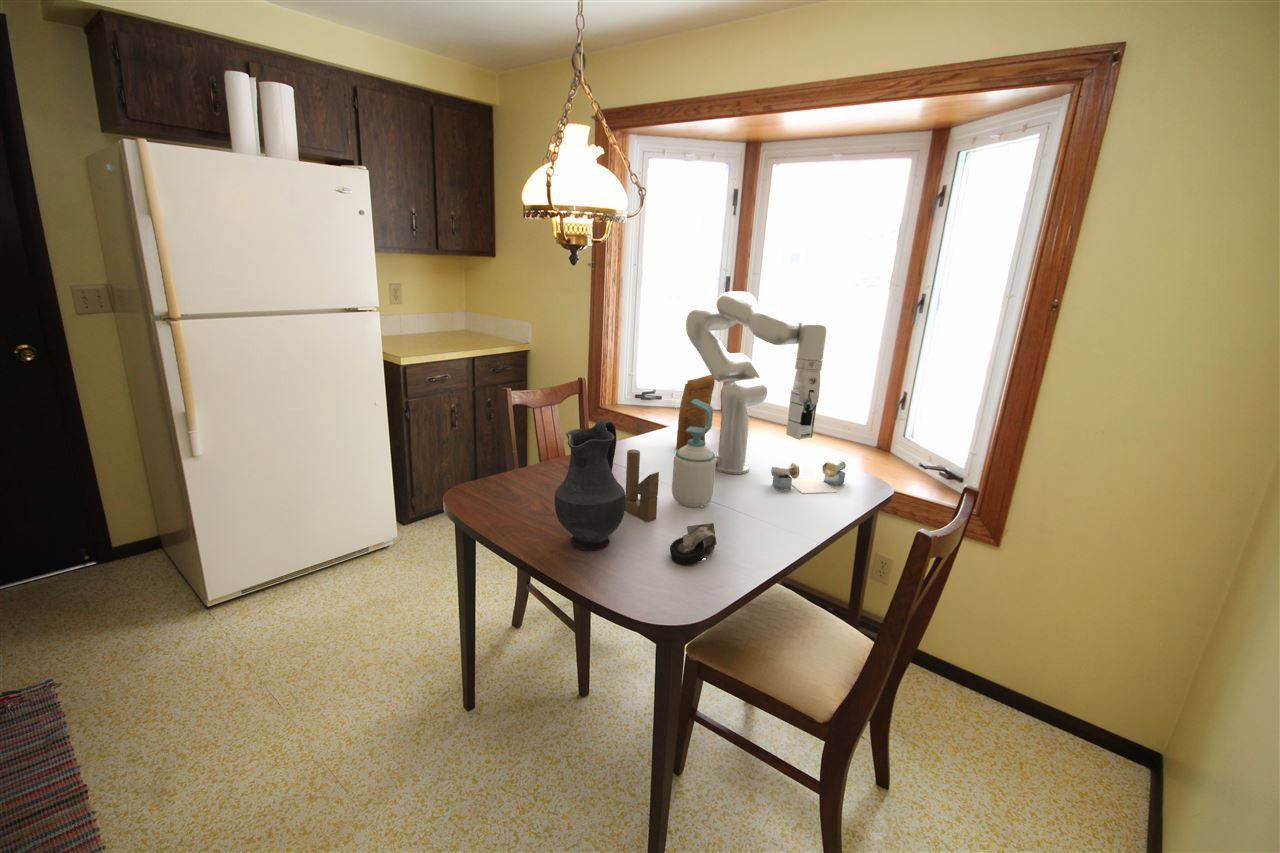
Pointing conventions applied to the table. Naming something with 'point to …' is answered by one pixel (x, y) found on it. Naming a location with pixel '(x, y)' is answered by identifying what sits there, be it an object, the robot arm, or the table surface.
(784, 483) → the shaft
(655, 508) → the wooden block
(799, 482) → the mat
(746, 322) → the robot arm
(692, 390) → the pancake mix bag
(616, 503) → the pitcher
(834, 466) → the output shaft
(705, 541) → the caster wheel
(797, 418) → the syrup box
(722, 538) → the table surface
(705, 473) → the soap bottle
